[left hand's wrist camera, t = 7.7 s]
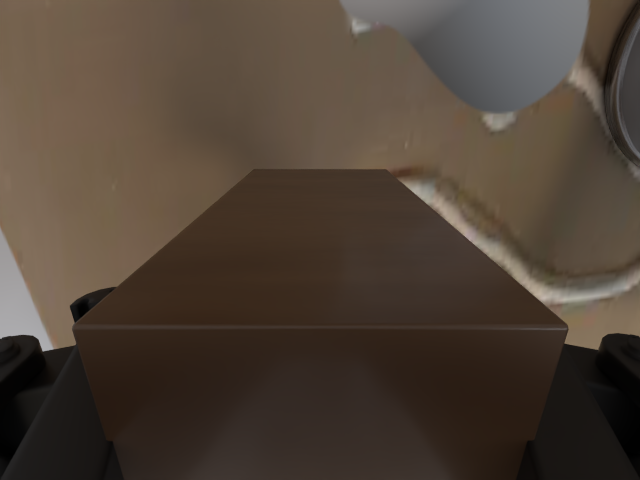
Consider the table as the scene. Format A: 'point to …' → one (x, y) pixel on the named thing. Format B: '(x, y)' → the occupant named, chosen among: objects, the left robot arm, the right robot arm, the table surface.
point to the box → (320, 342)
